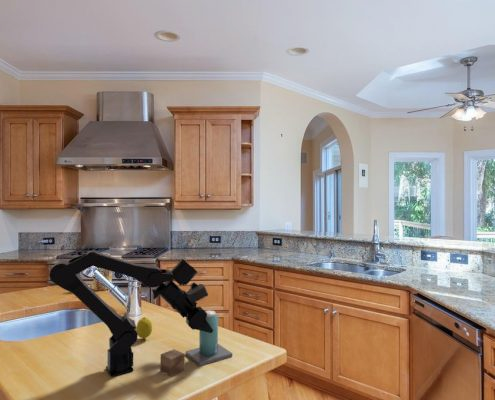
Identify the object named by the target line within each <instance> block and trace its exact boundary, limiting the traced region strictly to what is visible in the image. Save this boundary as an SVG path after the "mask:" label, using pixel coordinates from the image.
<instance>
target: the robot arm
mask: <svg viewBox="0 0 495 400" xmlns="http://www.w3.org/2000/svg"><path fill="white" fill-rule="evenodd" d="M94 266H95V267H99V268H102V269H106V270H109V271H112V272H113V273H116V274H120V275H124V276H127V277H131V278H132V279H135V280H136V281H138V282H140V283H141V284H143V285H145V286H147V287H150V288H151V297H152V299H153V300H156V299H157V298H158V297H159V296H160V298H162V299H163V300H164V301H165V302H166V303H167V304H169V305H170V307H171V308H172V309H173V310H174V311H176V312H177V313H178V314H179V315H180V316H181V317H182V318H185V323H186V324H187V325H188V327H189V328H190V329H191V330H197V331H204V332H208V333H212V332H213V329H212V328H211V326H210V325H209V323H208V322H207V320H206V317H207V313H206V312H205V311H206V310H204V309H203V308H202V307H201V306H197V305H198V303H197V302H198V301H200V300H202V299H204V298H206V297H208V296H209V293H208V291H207V288H206V286H205V285H204V284H202V283H199V284H197V283H196V282H192V283H190V282H191V281H192V279H194V278H195V276H196V275H197V274H199V272H198V271H197V270H196V269H195V268H194V267H193V266H192V265H191V264H189V263H188V262H187V261H186V260H185V259H184V258H181V259H180V260H179V261H178V262H177V264H176V265H175V266H174V267H173V268H172V269H171V270H170V269H167V268H166V269H164V268H163V269H162V268H159V267H158V266H157V265H154V264H145V263H144V264H143V263H134V262H130V261H128V260H124V259H121V258H117V257H114V256H111V255H107V254H104V253H101V252H98V251H96V250H89V251H87V252H86V253H84V254H81V255H79V256H76V257H73V258H71V259H69V260H67V259H64V260H59V261H57V262H56V263H55V264H54V265H53V266H52V268H50V271H49V279H50V282H52V283H53V284H55V285H57V286H58V287H60V288H61V289H63V290H65V291H67V292H70V293H72V294H73V295H74V296H75V297H76V298H77V299H78V300H79V301H81V302H82V304H84V305H85V306H86V307H87V309H89V310H90V311H91V312H92V313H93V314H94V315H95V316H96V318H98V319H100V321H102V323H104V324H105V325H106V327H107V328H108V329H109V331H110V333H111V336H110V338H109V339H108V340H109V341H108V345H109V349H107V366H105V370H106V371H107V373H108V374H109V375H110V377H115V376H119V375H122V374H126V373H130V372H133V371H134V368H133V367H134V351H133V349H132V346H133V345H135V343H136V342H137V340H138V337H139V336H138V334H137V330H136V327H137V324H136V321H135V320H133V319H132V318H131V317H129V315H128V314H127V312H124V314H123V315H120V314H118V313H117V312H116V311H115V310H113V308H112V307H111V306H110V305H109V304H108V303H106V302H105V301H104V300H103V299H102V297H100V296H99V295H98V293H96V292H95V290H94V289H93V288H91V287H90V286H89V285H88V284H87V283H86V282H85V281H84V279H83V277H82V276H81V273H82V272H84V271H85V270H87V269H89V268H91V267H94ZM175 282H176V283H177V284H178V285H179V286H180V287H181V286H187V285H188V284H189V283H190V285H189V287H190V288H189V289H188V291H185V289H182V288H180V287H179V286H178V285H177V284H176V283H175Z"/></svg>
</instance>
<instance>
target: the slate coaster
mask: <svg viewBox="0 0 495 400" xmlns="http://www.w3.org/2000/svg"><path fill="white" fill-rule="evenodd" d="M184 354H185V355H186V356H187V357H188V358H189V359H191V360H192V361H193V362H194V363H195V364H196V365H197V366H203V365H204V366H205V365H208V364H211V363H214V362H217V361H221V360H225V359H228V358H232V357H233V353H232V352H231V351H229V350H228V349H226V347H224V346H222V345H221V344H219V343H218V353H217V354H216V355H213V356H203V355H201V354H200V353H199V347H198V348H192V349H189V350H185V352H184Z"/></svg>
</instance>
